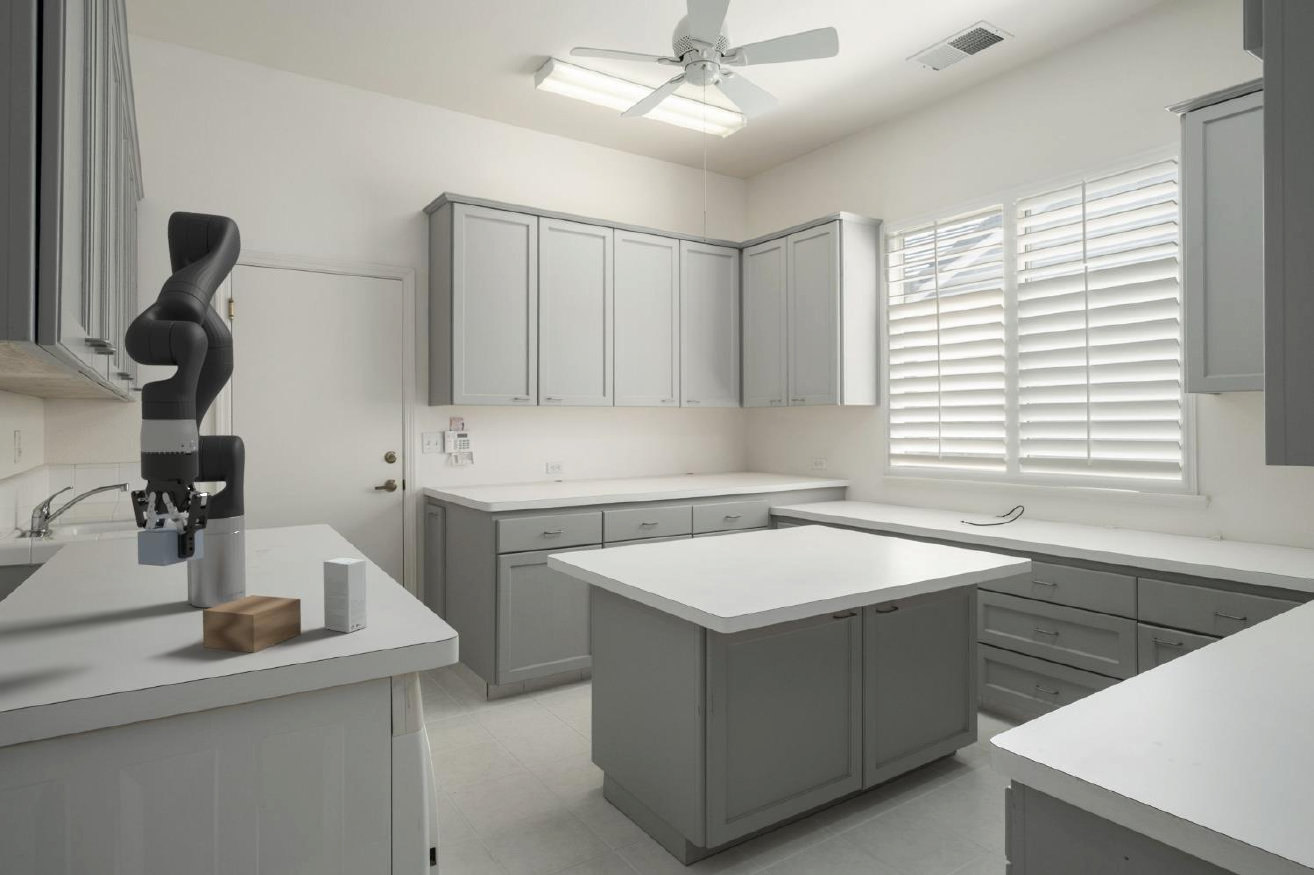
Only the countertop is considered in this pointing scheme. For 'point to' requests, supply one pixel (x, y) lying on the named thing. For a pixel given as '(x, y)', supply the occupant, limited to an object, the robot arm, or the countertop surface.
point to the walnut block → (251, 623)
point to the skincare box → (345, 594)
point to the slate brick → (164, 546)
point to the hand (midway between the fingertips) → (172, 555)
